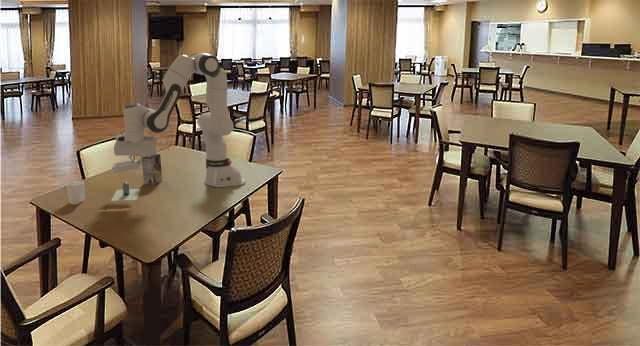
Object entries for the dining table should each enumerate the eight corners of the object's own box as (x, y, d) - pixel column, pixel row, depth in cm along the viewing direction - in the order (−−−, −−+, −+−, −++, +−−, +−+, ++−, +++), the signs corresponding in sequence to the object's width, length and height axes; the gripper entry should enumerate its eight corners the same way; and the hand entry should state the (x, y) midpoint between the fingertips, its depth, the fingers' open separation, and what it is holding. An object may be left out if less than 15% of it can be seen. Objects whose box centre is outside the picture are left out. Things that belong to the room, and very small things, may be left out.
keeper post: (129, 193, 260) (128, 181, 258) (129, 195, 257) (128, 183, 256) (123, 193, 260) (122, 181, 258) (122, 195, 257) (121, 183, 255)
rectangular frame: (140, 164, 260) (138, 158, 259) (138, 168, 252) (136, 162, 251) (116, 169, 258) (114, 163, 257) (113, 173, 250) (111, 167, 249)
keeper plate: (141, 190, 268) (140, 188, 268) (136, 201, 252) (136, 199, 251) (117, 191, 266) (116, 189, 266) (110, 202, 249) (110, 200, 249)
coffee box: (152, 180, 286) (150, 153, 281) (162, 181, 284) (160, 154, 280) (143, 185, 277) (141, 157, 273) (154, 186, 276) (152, 158, 271)
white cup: (72, 199, 252) (69, 180, 249) (88, 199, 253) (86, 180, 250) (65, 205, 244) (63, 185, 242) (82, 205, 245) (80, 185, 242)
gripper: (157, 134, 257) (158, 161, 260) (114, 135, 252) (116, 162, 256) (156, 137, 251) (157, 164, 254) (112, 138, 246) (114, 165, 250)
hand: (136, 163), depth 255 cm, fingers closed on rectangular frame, 2 cm apart
